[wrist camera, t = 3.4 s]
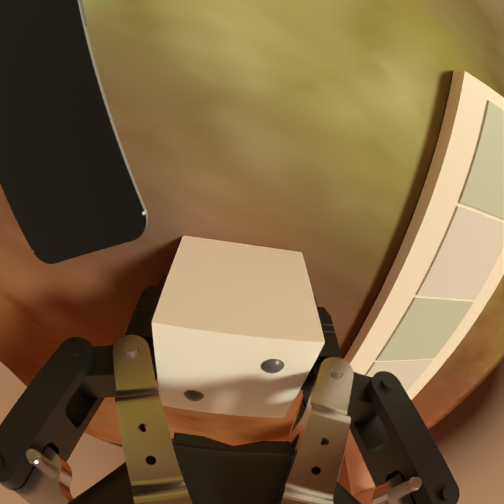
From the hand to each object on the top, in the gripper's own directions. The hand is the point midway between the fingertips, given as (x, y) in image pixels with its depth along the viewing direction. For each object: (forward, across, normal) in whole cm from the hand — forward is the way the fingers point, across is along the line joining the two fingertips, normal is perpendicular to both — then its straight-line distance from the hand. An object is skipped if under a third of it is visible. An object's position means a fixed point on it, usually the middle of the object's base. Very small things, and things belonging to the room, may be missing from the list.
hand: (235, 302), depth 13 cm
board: (+1, -11, +1) cm, 11 cm away
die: (+1, 0, 0) cm, 1 cm away
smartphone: (+1, +10, -8) cm, 13 cm away
